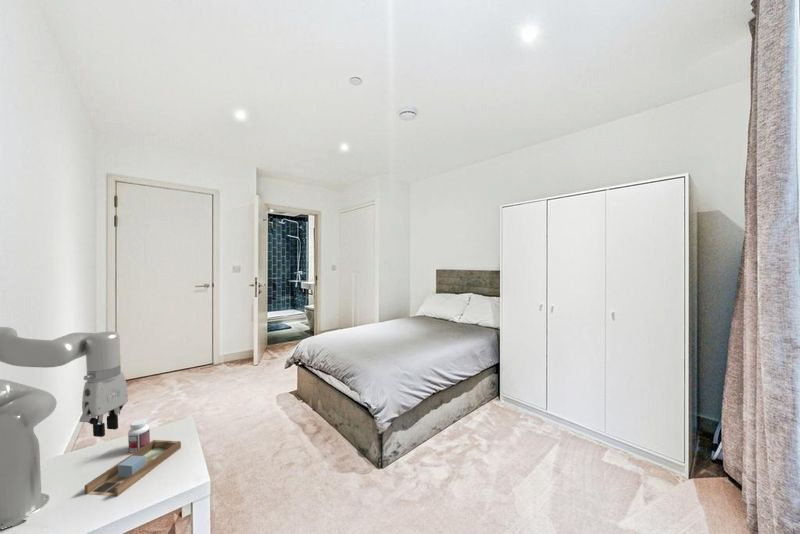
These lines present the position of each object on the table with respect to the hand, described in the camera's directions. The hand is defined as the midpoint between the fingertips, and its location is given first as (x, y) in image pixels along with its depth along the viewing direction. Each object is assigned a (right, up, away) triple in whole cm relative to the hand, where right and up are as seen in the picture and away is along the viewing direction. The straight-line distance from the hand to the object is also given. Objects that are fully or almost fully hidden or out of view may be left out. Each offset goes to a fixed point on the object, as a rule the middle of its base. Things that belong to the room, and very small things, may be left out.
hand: (106, 431), depth 96 cm
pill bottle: (-8, -19, +22) cm, 30 cm away
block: (+1, -18, +9) cm, 20 cm away
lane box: (+1, -19, +11) cm, 22 cm away
